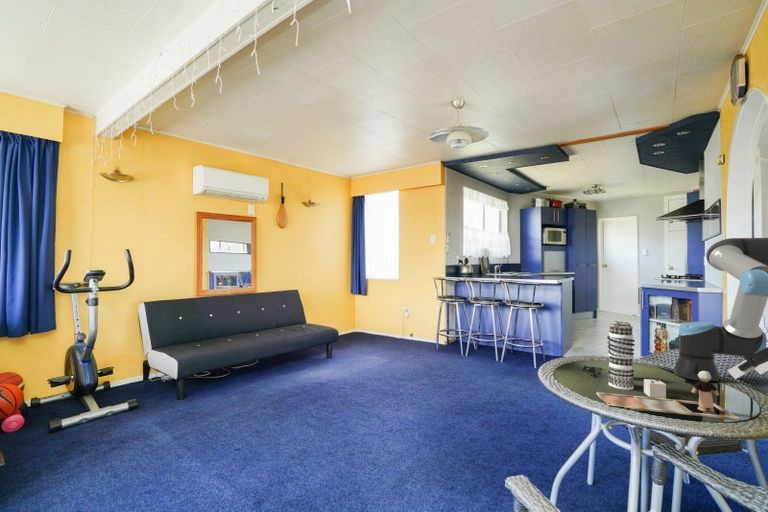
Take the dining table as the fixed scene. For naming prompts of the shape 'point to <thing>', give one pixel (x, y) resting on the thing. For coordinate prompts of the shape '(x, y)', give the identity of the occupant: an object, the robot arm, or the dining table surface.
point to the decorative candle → (621, 355)
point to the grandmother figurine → (705, 391)
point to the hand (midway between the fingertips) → (744, 372)
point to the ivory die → (655, 388)
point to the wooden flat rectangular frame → (657, 405)
